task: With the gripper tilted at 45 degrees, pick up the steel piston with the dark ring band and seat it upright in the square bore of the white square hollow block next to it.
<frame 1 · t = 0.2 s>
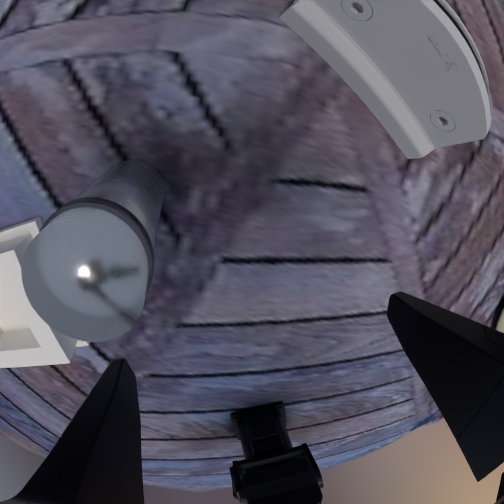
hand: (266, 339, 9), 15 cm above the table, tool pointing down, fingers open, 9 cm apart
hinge: (377, 62, 20), on the table
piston: (133, 191, 20), on the table
white square hollow block: (14, 294, 21), on the table
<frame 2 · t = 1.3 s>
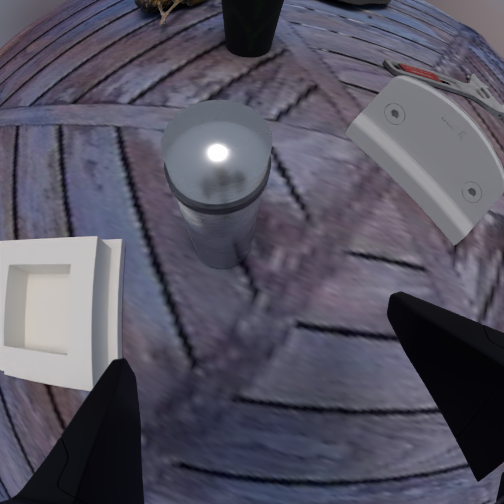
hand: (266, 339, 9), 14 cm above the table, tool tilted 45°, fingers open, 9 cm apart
cup: (248, 46, 32), on the table
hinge: (416, 170, 29), on the table
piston: (222, 240, 24), on the table
seed pod: (176, 2, 36), on the table
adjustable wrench: (452, 89, 35), on the table
white square hollow block: (59, 313, 22), on the table
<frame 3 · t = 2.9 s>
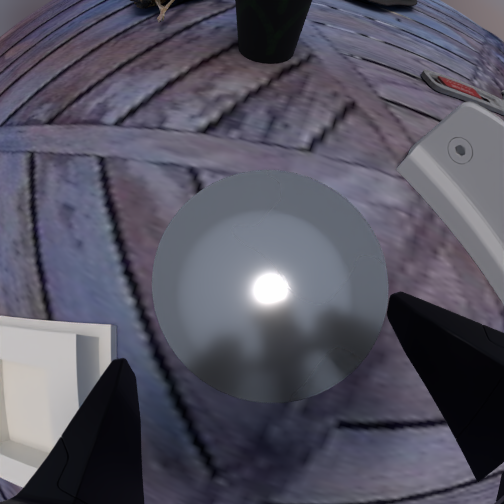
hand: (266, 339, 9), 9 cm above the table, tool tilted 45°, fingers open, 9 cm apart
cup: (266, 49, 26), on the table
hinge: (472, 217, 22), on the table
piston: (245, 326, 18), on the table
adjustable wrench: (490, 106, 29), on the table
white square hollow block: (44, 406, 15), on the table
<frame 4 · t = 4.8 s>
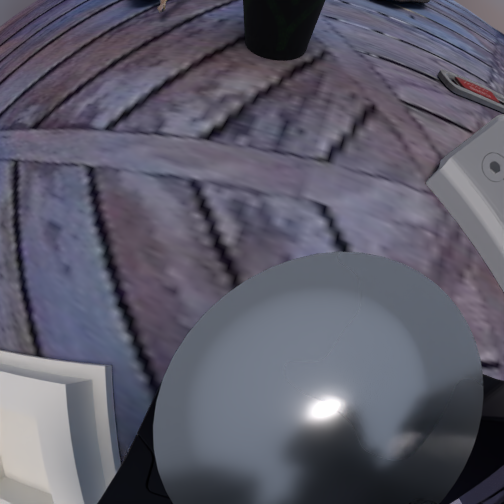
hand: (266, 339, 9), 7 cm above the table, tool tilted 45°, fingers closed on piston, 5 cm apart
cup: (275, 45, 23), on the table
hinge: (499, 237, 19), on the table
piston: (257, 366, 15), on the table, touching gripper
white square hollow block: (38, 444, 13), on the table
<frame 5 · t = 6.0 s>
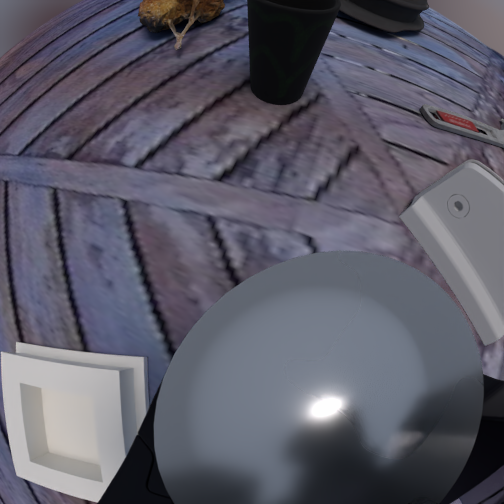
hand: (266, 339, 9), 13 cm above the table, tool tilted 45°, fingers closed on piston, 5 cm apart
casserole: (373, 10, 39), on the table
cup: (276, 88, 29), on the table
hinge: (464, 261, 25), on the table
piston: (257, 366, 15), point 6 cm above the table, touching gripper
seed pod: (184, 18, 33), on the table
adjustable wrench: (487, 136, 32), on the table
white square hollow block: (81, 422, 19), on the table
when the fingers open (9 cm above the table, at t = 8.8 s): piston stays where it is, resting on white square hollow block.
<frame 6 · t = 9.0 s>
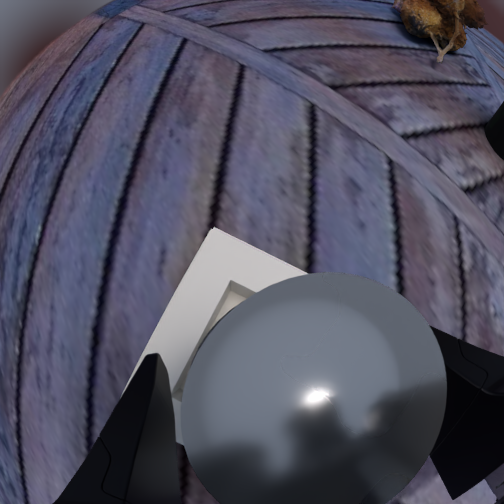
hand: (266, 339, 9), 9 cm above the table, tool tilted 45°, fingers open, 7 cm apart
cup: (499, 144, 26), on the table
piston: (256, 366, 16), point 1 cm above the table, touching white square hollow block
seed pod: (426, 35, 32), on the table
white square hollow block: (254, 364, 17), on the table
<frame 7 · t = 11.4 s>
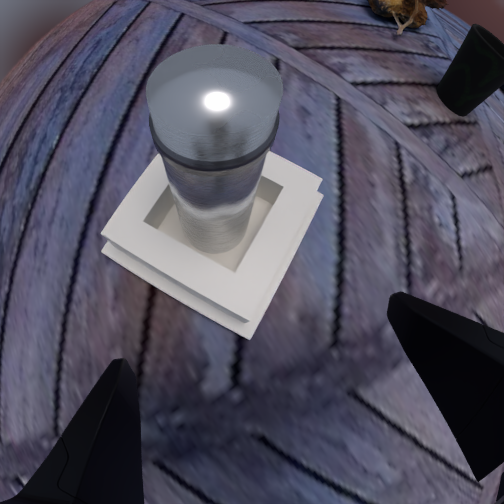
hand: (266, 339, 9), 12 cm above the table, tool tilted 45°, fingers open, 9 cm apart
cup: (451, 101, 31), on the table
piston: (214, 221, 21), point 1 cm above the table, touching white square hollow block
seed pod: (391, 16, 37), on the table
white square hollow block: (214, 225, 22), on the table
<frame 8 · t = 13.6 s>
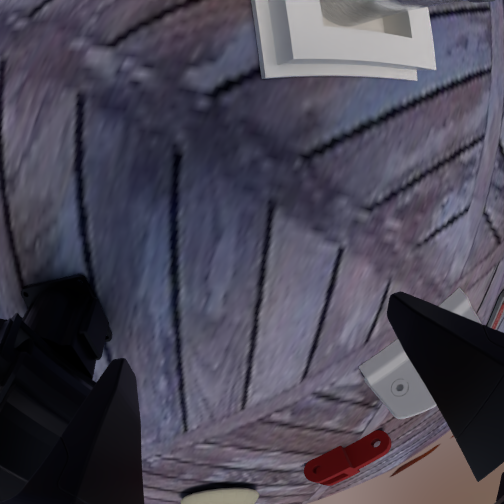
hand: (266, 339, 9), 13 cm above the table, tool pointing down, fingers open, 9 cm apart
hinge: (415, 340, 34), on the table
handbell: (218, 492, 46), on the table
mechanical linkage: (345, 447, 46), on the table
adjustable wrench: (479, 344, 42), on the table
white square hollow block: (334, 0, 15), on the table
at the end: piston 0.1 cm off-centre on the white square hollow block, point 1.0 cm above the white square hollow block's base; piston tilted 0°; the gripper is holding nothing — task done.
